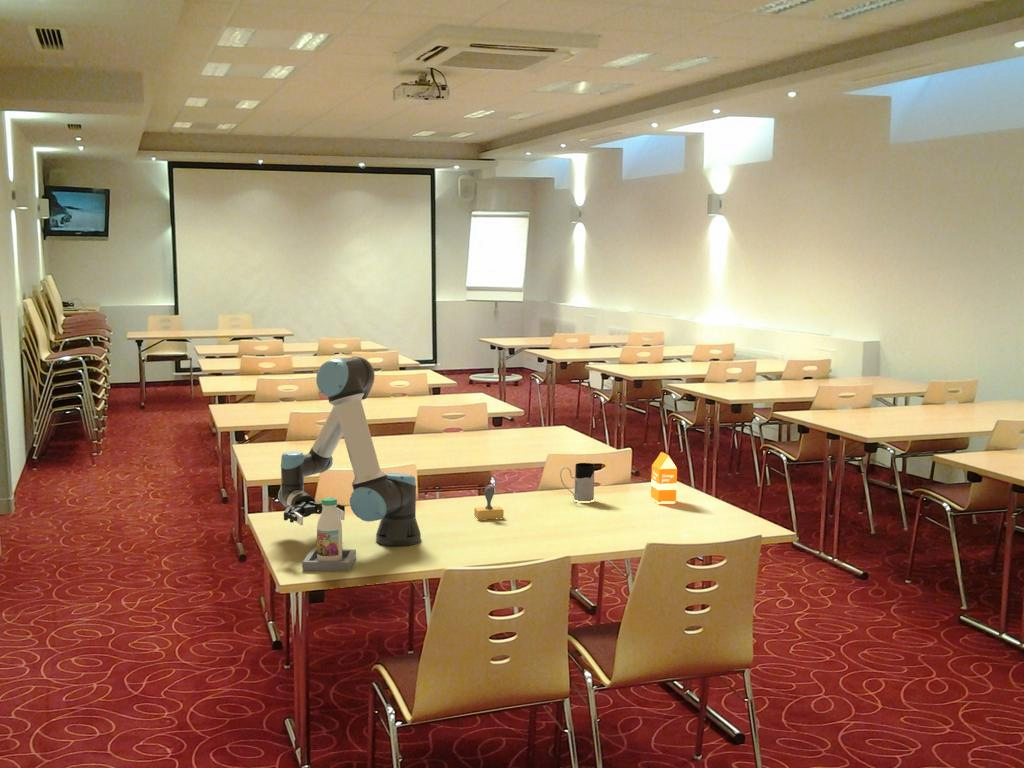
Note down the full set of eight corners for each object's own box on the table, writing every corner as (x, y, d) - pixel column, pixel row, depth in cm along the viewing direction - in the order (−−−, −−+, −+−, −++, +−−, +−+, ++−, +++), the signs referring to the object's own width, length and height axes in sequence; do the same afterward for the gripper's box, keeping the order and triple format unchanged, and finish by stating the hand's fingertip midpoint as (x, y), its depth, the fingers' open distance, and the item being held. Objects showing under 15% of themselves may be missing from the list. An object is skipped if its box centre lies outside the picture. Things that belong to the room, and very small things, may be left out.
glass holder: (595, 503, 382) (596, 467, 380) (560, 503, 381) (561, 466, 380) (593, 498, 390) (594, 462, 389) (558, 498, 390) (559, 462, 388)
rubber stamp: (477, 520, 353) (478, 489, 352) (474, 516, 359) (474, 485, 357) (503, 519, 356) (504, 487, 354) (499, 515, 361) (500, 484, 360)
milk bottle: (324, 557, 302) (323, 495, 300) (346, 559, 300) (346, 497, 298) (312, 563, 295) (312, 500, 293) (335, 566, 293) (334, 502, 291)
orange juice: (657, 504, 382) (659, 455, 379) (650, 499, 390) (652, 451, 388) (676, 504, 383) (678, 455, 381) (668, 499, 392) (670, 451, 390)
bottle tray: (356, 558, 305) (355, 549, 304) (348, 571, 291) (348, 562, 290) (312, 557, 305) (312, 548, 304) (302, 570, 291) (302, 561, 290)
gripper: (337, 510, 325) (360, 525, 307) (264, 519, 313) (284, 534, 295) (337, 489, 325) (360, 502, 306) (264, 496, 312) (283, 511, 294)
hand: (322, 518), depth 301 cm, fingers open, 13 cm apart
